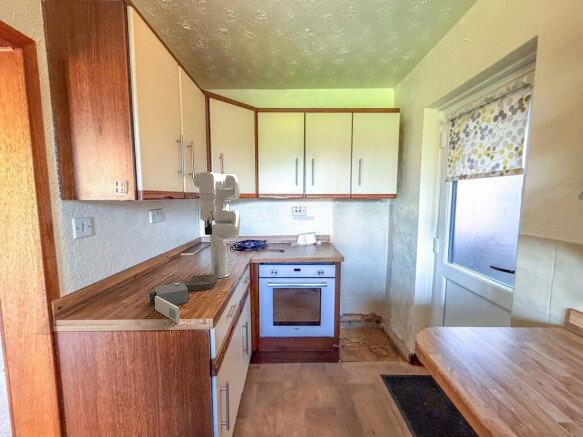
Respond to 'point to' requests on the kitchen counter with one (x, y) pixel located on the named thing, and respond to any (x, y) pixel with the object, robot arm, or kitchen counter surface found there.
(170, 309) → the side door
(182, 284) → the camera housing
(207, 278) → the marble piece
